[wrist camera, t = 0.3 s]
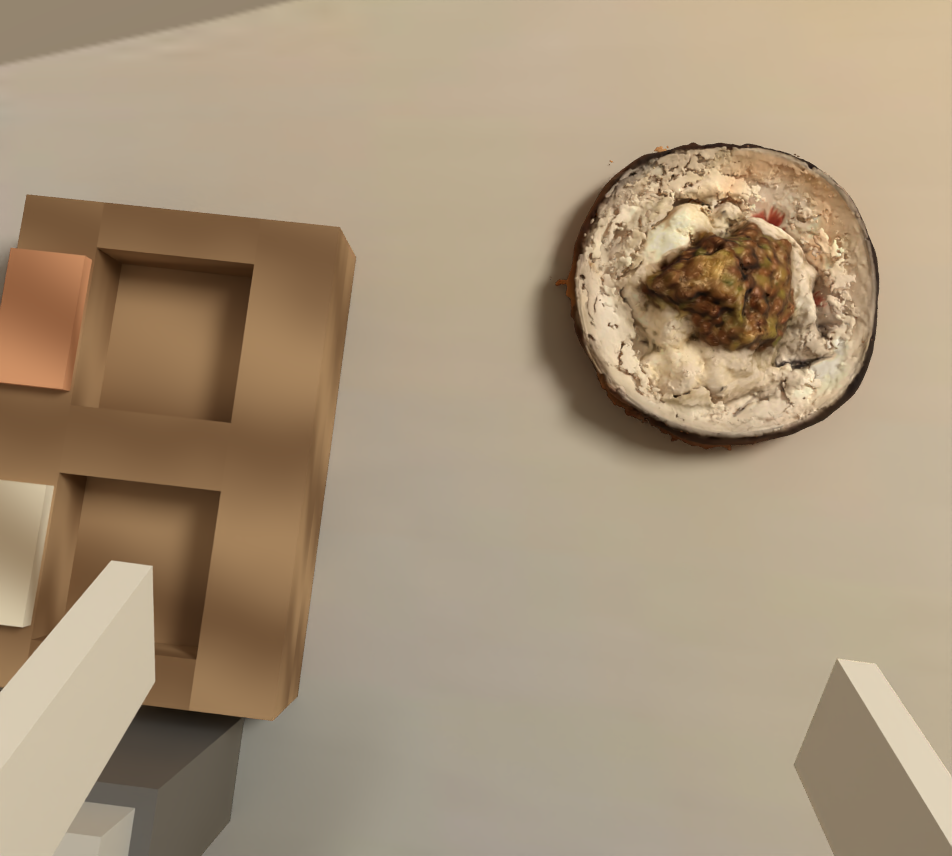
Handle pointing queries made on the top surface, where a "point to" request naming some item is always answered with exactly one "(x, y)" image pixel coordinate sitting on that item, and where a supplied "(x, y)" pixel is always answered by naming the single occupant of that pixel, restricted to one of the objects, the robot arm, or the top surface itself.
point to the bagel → (725, 293)
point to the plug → (161, 787)
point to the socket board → (171, 434)
